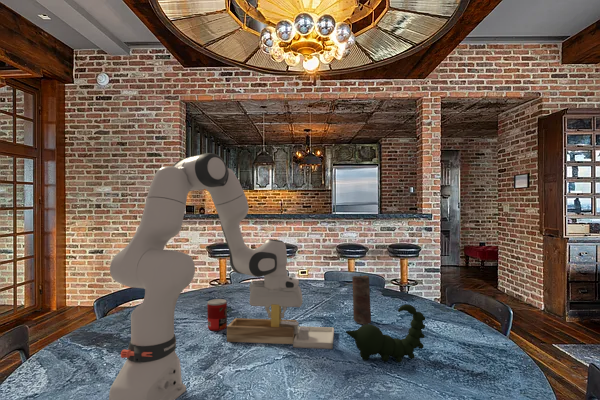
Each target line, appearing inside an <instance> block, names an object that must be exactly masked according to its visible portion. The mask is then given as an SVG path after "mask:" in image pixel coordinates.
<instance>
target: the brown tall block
mask: <svg viewBox="0 0 600 400" xmlns="http://www.w3.org/2000/svg"><path fill="white" fill-rule="evenodd" d="M351 280H352V303H353V304H352V308H353V309H352V311H353V312H352V313H353V321H354V322H355V323H357V324H361V325H362V326H363V325H366V324H371V322H372V314H371V313H372V310H371V296H370V295H371V289H370V276H368V275H360V276H359V275H353V276H352V277H351Z"/></svg>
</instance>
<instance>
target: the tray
mask: <svg viewBox="0 0 600 400" xmlns="http://www.w3.org/2000/svg"><path fill="white" fill-rule="evenodd" d="M300 327H306V326H305V325H304V326H301V325H299V329H300ZM308 327H309V340H300V339H299V331H298V334H296V336H295V338H294V341H293V344H292V347H293V348H295V349H298V348H299V349H300V348H301V349H320V350H333V349H334V348H333V347H334V339H335V337H334V336H335V327H332V326H331V327H330V326H329V327H328V326H327V327H326V326H308Z"/></svg>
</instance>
